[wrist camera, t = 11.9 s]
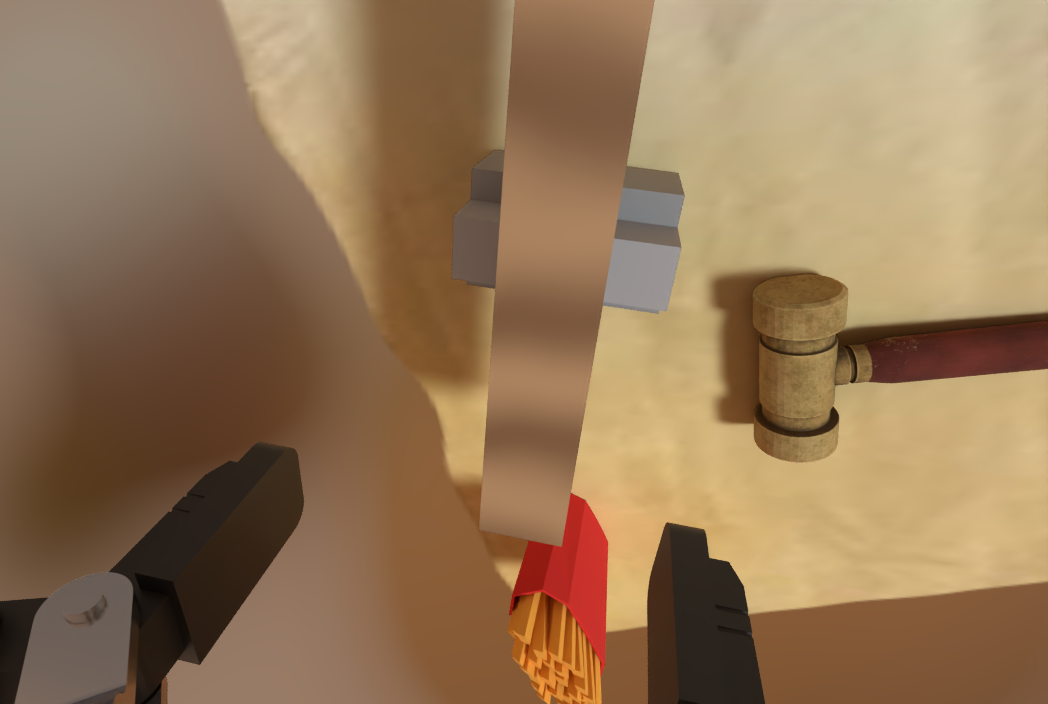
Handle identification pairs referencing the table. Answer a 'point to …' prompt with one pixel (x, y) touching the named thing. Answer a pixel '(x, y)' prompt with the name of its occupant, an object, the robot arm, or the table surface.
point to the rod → (555, 247)
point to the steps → (638, 245)
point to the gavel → (855, 361)
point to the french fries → (563, 611)
